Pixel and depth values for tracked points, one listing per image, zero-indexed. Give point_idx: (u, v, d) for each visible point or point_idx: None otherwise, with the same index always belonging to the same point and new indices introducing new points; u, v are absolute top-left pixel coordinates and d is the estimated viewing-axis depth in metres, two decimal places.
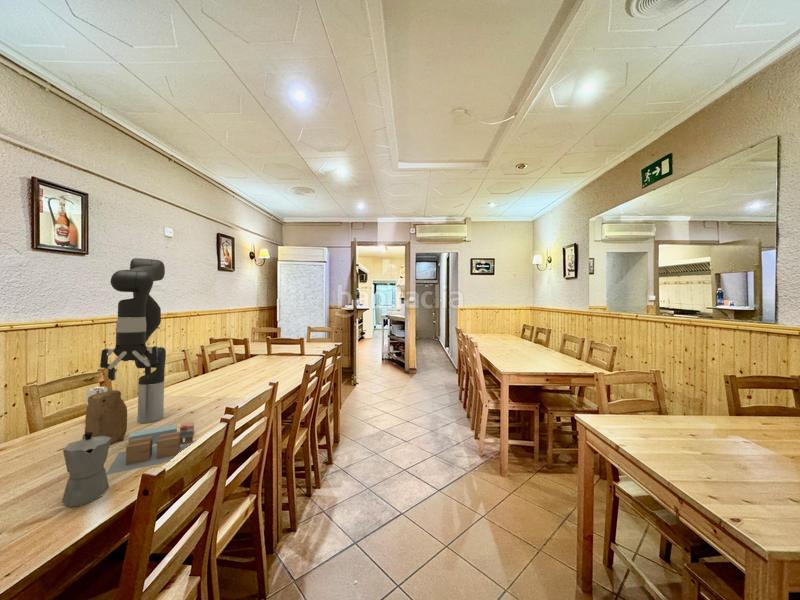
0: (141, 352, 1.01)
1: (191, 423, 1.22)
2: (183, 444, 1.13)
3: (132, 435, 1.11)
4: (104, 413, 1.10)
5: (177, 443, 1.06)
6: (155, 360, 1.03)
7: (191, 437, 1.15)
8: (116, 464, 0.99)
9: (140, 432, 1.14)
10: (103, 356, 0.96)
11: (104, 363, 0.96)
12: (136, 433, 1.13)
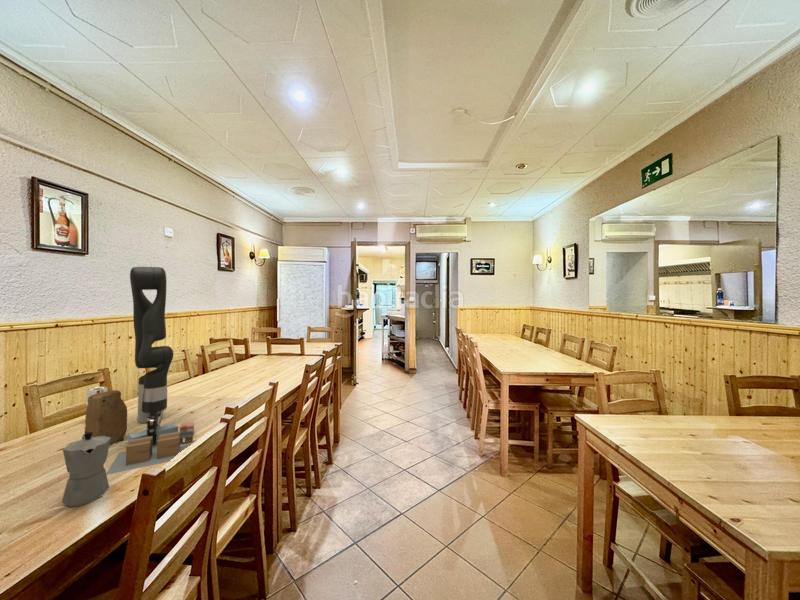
0: None
1: (191, 423, 1.22)
2: (183, 444, 1.13)
3: (134, 436, 1.10)
4: (104, 413, 1.10)
5: (177, 443, 1.06)
6: None
7: (191, 437, 1.15)
8: (116, 464, 0.99)
9: (140, 433, 1.13)
10: (155, 425, 1.11)
11: (156, 430, 1.12)
12: (136, 434, 1.12)
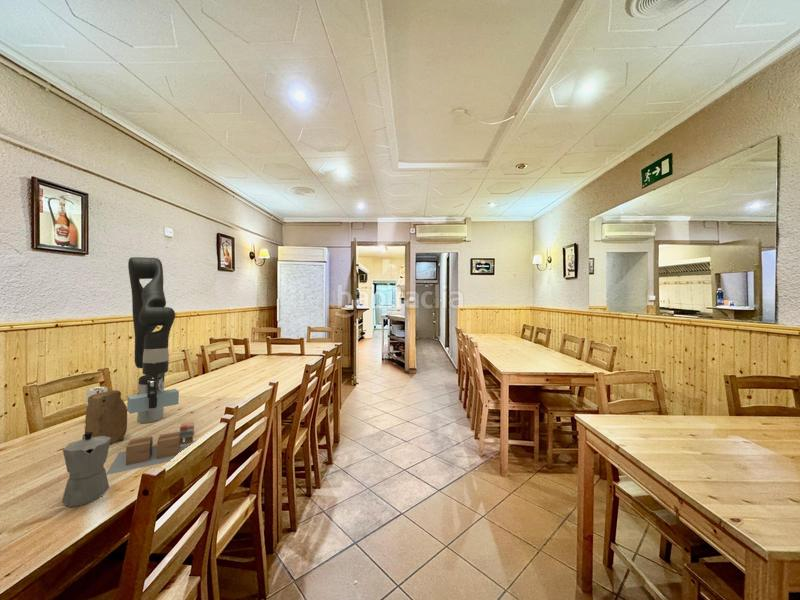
0: None
1: (191, 423, 1.22)
2: (183, 444, 1.13)
3: (132, 398, 1.05)
4: (104, 413, 1.10)
5: (177, 443, 1.06)
6: (161, 386, 1.16)
7: (191, 437, 1.15)
8: (116, 464, 0.99)
9: (139, 395, 1.08)
10: (156, 386, 1.06)
11: (156, 392, 1.07)
12: (135, 396, 1.07)
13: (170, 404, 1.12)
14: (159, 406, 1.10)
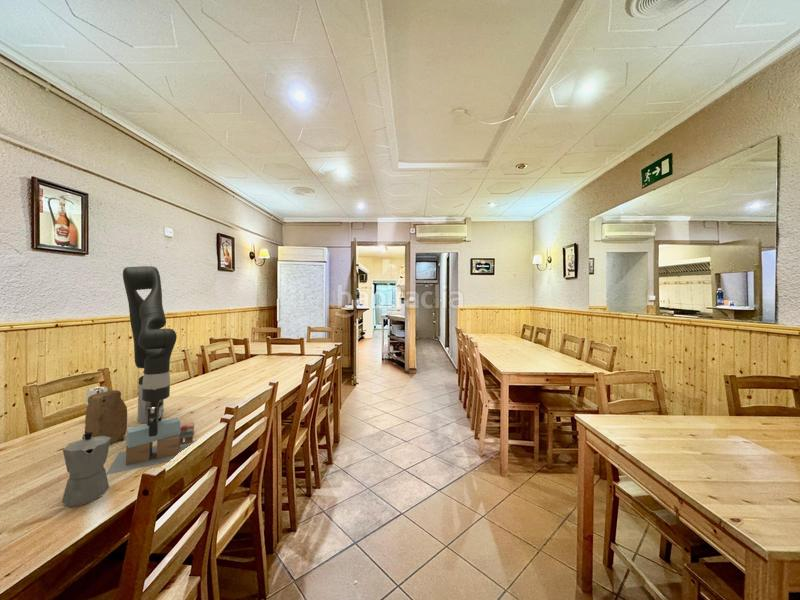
0: None
1: (191, 423, 1.22)
2: (183, 444, 1.13)
3: (131, 430, 1.00)
4: (104, 413, 1.10)
5: (177, 443, 1.06)
6: None
7: (191, 437, 1.15)
8: (116, 464, 0.99)
9: (139, 427, 1.02)
10: (157, 413, 1.00)
11: (157, 419, 1.00)
12: (134, 428, 1.01)
13: (171, 435, 1.07)
14: (159, 438, 1.04)
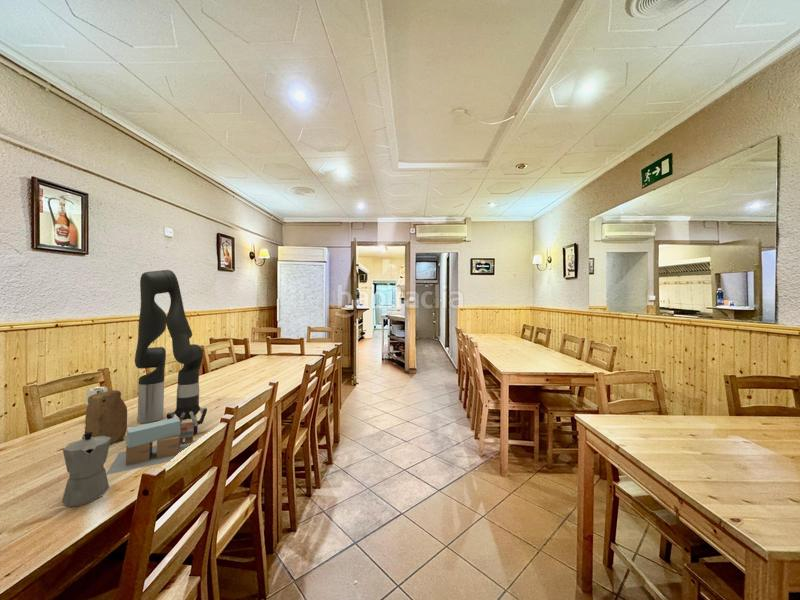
0: None
1: (191, 423, 1.22)
2: (183, 444, 1.13)
3: (131, 430, 1.00)
4: (104, 413, 1.10)
5: (177, 443, 1.06)
6: None
7: (191, 437, 1.15)
8: (116, 464, 0.99)
9: (139, 427, 1.02)
10: None
11: None
12: (134, 428, 1.01)
13: (171, 435, 1.07)
14: (159, 438, 1.04)
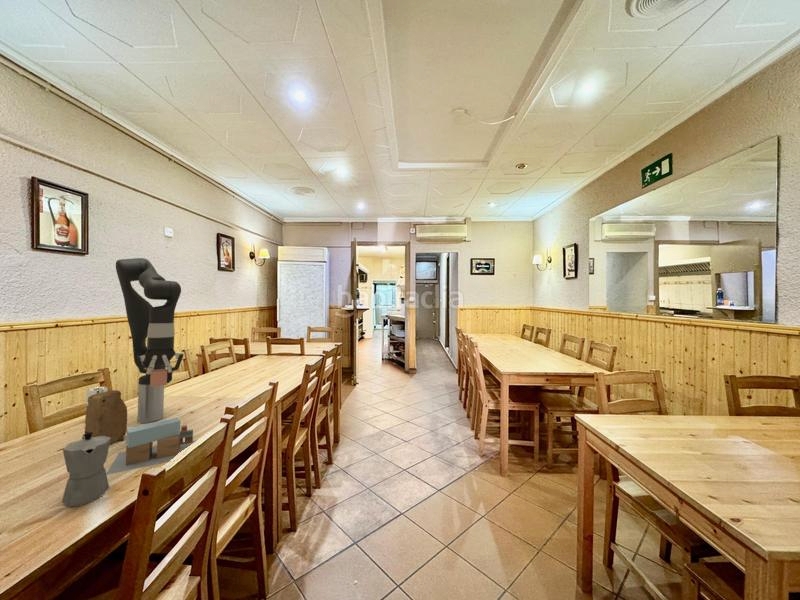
0: None
1: (164, 369, 1.07)
2: (183, 444, 1.13)
3: (131, 430, 1.00)
4: (104, 413, 1.10)
5: (177, 443, 1.06)
6: None
7: (191, 437, 1.15)
8: (116, 464, 0.99)
9: (139, 427, 1.02)
10: None
11: None
12: (134, 428, 1.01)
13: (171, 435, 1.07)
14: (159, 438, 1.04)
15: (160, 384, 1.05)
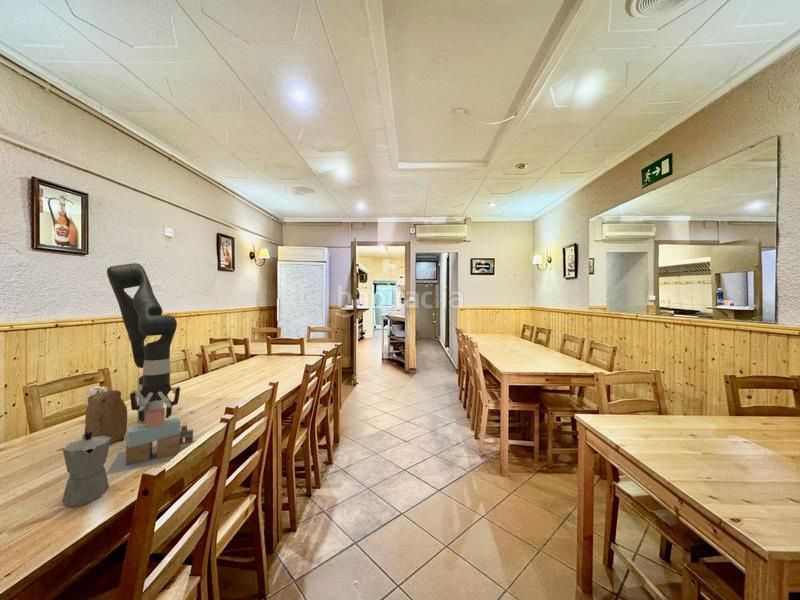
0: None
1: (160, 409, 1.06)
2: (183, 444, 1.13)
3: (131, 430, 1.00)
4: (104, 413, 1.10)
5: (177, 443, 1.06)
6: None
7: (191, 437, 1.15)
8: (116, 464, 0.99)
9: (139, 427, 1.02)
10: None
11: None
12: (134, 428, 1.01)
13: (171, 435, 1.07)
14: (159, 438, 1.04)
15: (156, 425, 1.03)
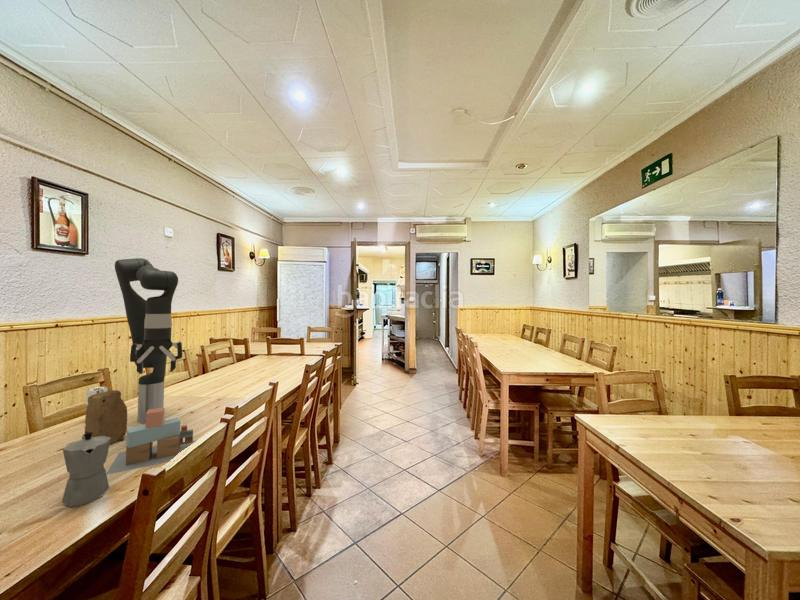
0: None
1: (160, 409, 1.06)
2: (183, 444, 1.13)
3: (131, 430, 1.00)
4: (104, 413, 1.10)
5: (177, 443, 1.06)
6: None
7: (191, 437, 1.15)
8: (116, 464, 0.99)
9: (139, 427, 1.02)
10: None
11: None
12: (134, 428, 1.01)
13: (171, 435, 1.07)
14: (159, 438, 1.04)
15: (156, 425, 1.03)
